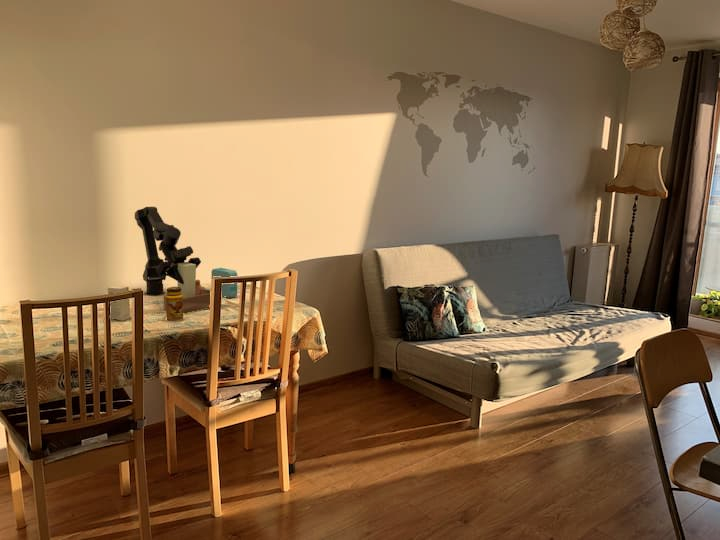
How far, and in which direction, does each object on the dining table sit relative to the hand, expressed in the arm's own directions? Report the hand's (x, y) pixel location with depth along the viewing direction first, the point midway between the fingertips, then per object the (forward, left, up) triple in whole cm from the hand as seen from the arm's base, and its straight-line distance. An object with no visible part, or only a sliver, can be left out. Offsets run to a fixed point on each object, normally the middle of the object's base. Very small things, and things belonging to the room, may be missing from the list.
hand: (188, 282), depth 238 cm
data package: (+1, +24, -11) cm, 27 cm away
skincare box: (-11, -27, -11) cm, 31 cm away
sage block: (-2, 0, -7) cm, 7 cm away
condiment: (+6, -18, -11) cm, 21 cm away
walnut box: (+2, -1, -10) cm, 10 cm away
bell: (-12, +20, -11) cm, 25 cm away
